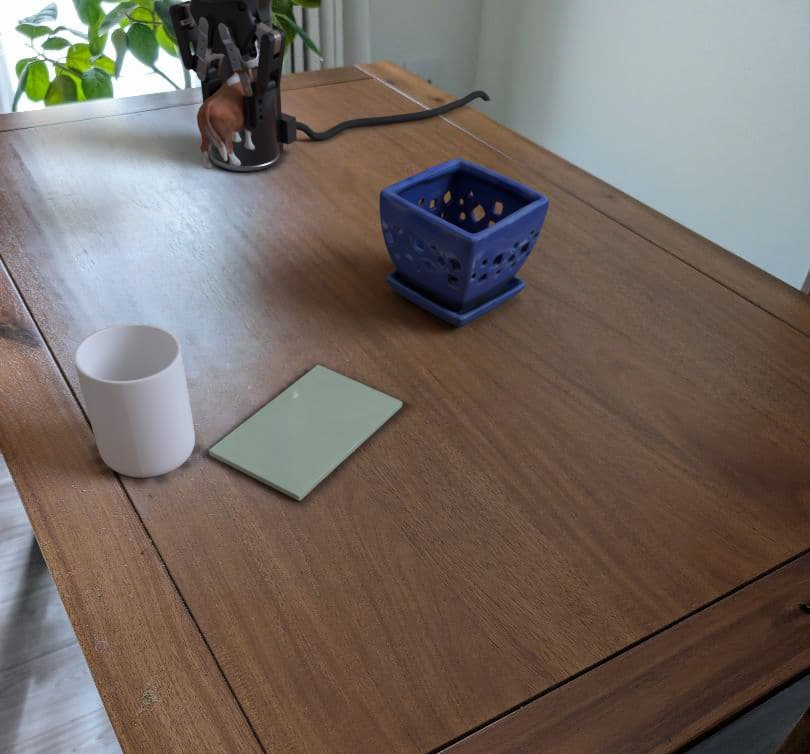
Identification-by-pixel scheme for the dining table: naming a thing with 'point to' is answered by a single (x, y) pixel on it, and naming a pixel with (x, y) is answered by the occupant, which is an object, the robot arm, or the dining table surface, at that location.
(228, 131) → the bull figurine
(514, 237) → the flower pot
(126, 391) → the cup
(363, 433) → the tile
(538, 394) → the dining table surface
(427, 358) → the dining table surface
